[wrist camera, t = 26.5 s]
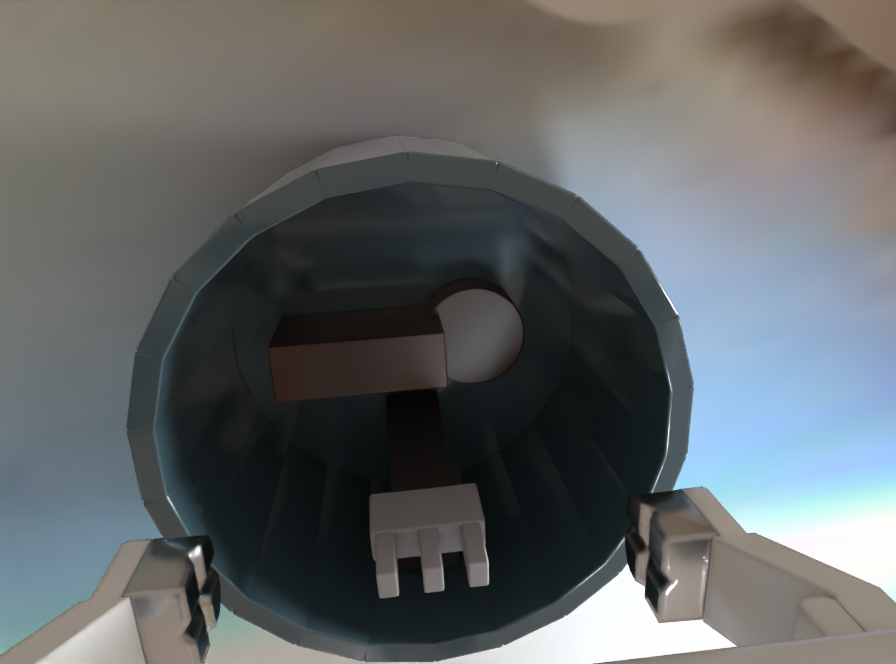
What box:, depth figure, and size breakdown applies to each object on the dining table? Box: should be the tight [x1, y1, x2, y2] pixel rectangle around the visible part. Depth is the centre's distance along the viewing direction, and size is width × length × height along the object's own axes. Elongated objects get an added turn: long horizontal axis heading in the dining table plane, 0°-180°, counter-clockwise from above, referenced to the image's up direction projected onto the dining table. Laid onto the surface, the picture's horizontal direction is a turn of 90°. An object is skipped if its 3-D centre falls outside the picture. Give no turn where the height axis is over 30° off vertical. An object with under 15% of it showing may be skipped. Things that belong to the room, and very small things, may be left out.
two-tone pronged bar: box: [369, 391, 489, 598], centre depth 20 cm, size 8×3×3 cm
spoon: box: [267, 279, 525, 403], centre depth 21 cm, size 8×3×3 cm, turn 93°
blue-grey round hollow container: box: [126, 136, 694, 662], centre depth 19 cm, size 13×13×8 cm
